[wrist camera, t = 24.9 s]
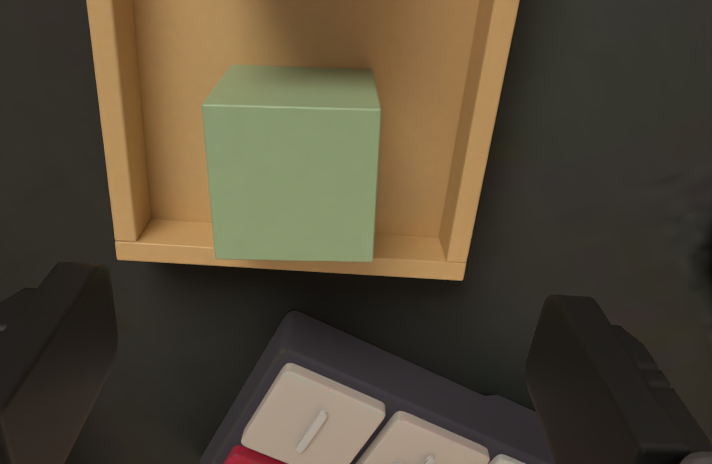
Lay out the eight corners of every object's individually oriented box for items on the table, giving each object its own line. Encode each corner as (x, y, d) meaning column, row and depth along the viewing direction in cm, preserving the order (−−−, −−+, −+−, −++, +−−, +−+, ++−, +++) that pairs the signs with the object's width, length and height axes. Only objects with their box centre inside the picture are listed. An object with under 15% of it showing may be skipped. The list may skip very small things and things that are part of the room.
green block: (230, 64, 21) (200, 104, 16) (373, 68, 21) (381, 109, 16) (238, 194, 23) (214, 260, 19) (366, 197, 23) (373, 263, 19)
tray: (76, -396, 16) (31, -450, 13) (560, -334, 16) (596, -375, 14) (137, 227, 24) (116, 260, 22) (451, 248, 25) (463, 281, 23)
